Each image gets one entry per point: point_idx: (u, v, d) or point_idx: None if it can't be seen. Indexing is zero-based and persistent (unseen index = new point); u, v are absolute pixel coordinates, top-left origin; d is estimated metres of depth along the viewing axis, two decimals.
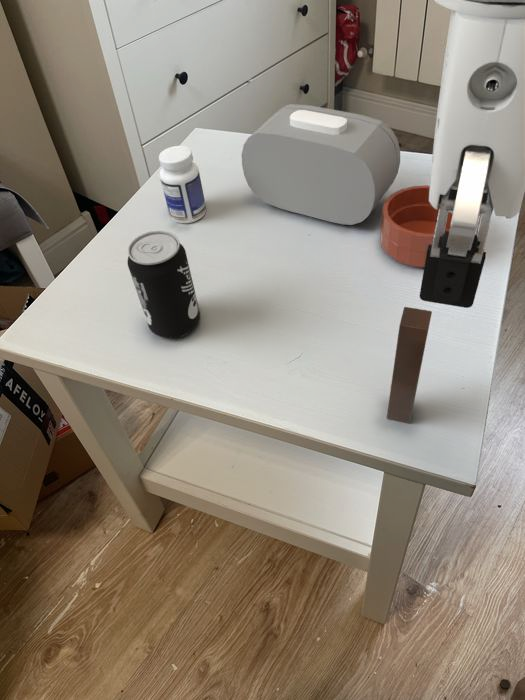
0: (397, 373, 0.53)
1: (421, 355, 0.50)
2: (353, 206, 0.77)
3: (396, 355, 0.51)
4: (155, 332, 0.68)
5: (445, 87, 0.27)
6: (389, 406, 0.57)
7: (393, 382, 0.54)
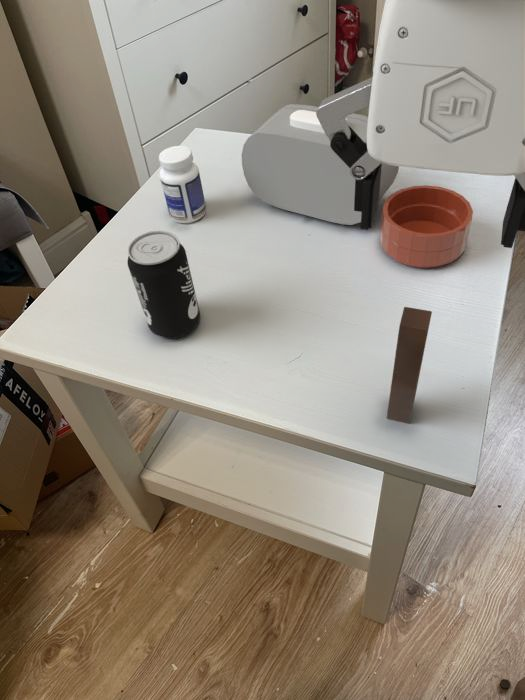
0: (397, 373, 0.53)
1: (421, 355, 0.50)
2: (353, 206, 0.77)
3: (396, 355, 0.51)
4: (155, 332, 0.68)
5: None
6: (389, 406, 0.57)
7: (393, 382, 0.54)
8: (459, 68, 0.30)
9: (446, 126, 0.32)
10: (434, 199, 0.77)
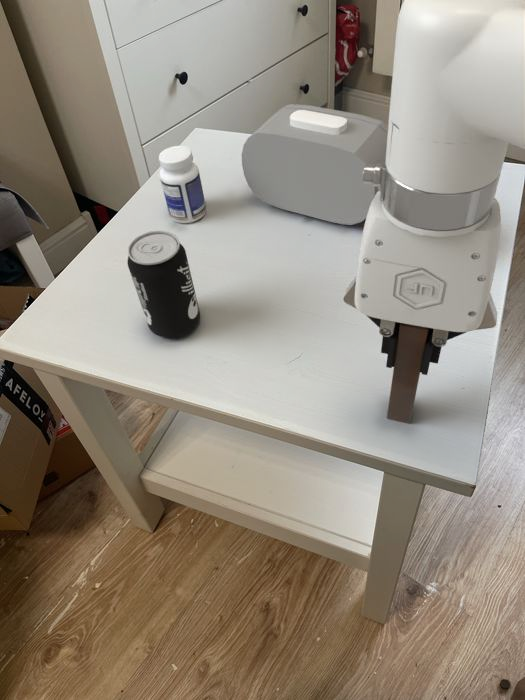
0: (397, 373, 0.53)
1: (421, 355, 0.50)
2: (353, 206, 0.77)
3: (396, 355, 0.51)
4: (155, 332, 0.68)
5: None
6: (389, 406, 0.57)
7: (393, 382, 0.54)
8: (420, 267, 0.41)
9: (412, 299, 0.44)
10: None
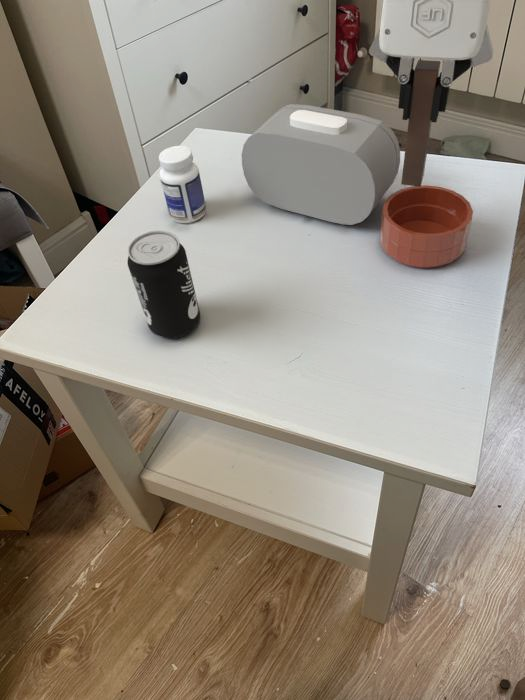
0: (411, 127, 0.65)
1: (431, 101, 0.62)
2: (353, 206, 0.77)
3: (411, 105, 0.63)
4: (155, 332, 0.68)
5: None
6: (404, 168, 0.69)
7: (408, 138, 0.66)
8: None
9: (426, 27, 0.55)
10: (434, 199, 0.77)
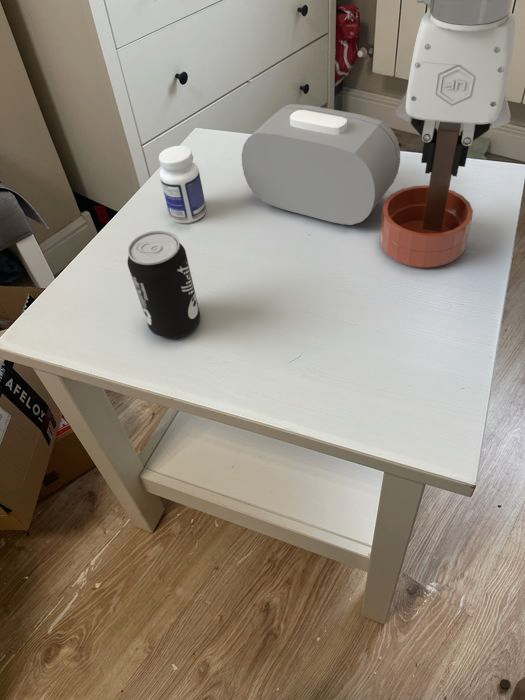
0: (433, 179, 0.70)
1: (453, 157, 0.67)
2: (353, 206, 0.77)
3: (433, 160, 0.68)
4: (155, 332, 0.68)
5: None
6: (425, 215, 0.74)
7: (429, 189, 0.71)
8: (456, 65, 0.58)
9: (450, 96, 0.60)
10: None
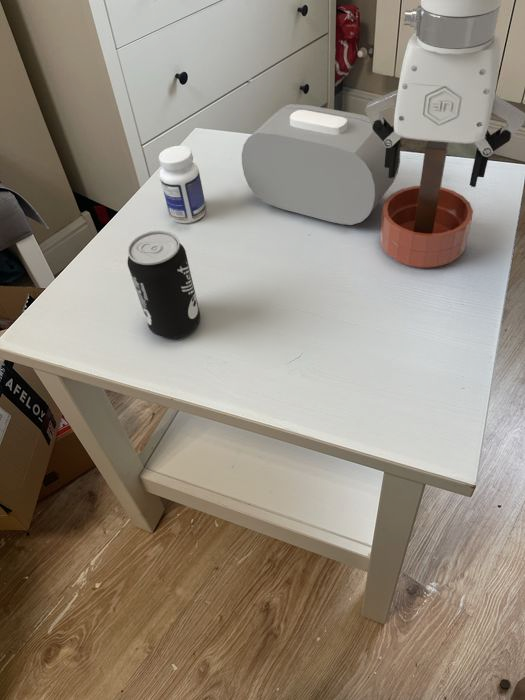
0: (421, 196, 0.70)
1: (440, 175, 0.68)
2: (353, 206, 0.77)
3: (421, 177, 0.69)
4: (155, 332, 0.68)
5: None
6: (414, 230, 0.74)
7: (418, 205, 0.72)
8: (443, 86, 0.59)
9: (437, 116, 0.61)
10: None
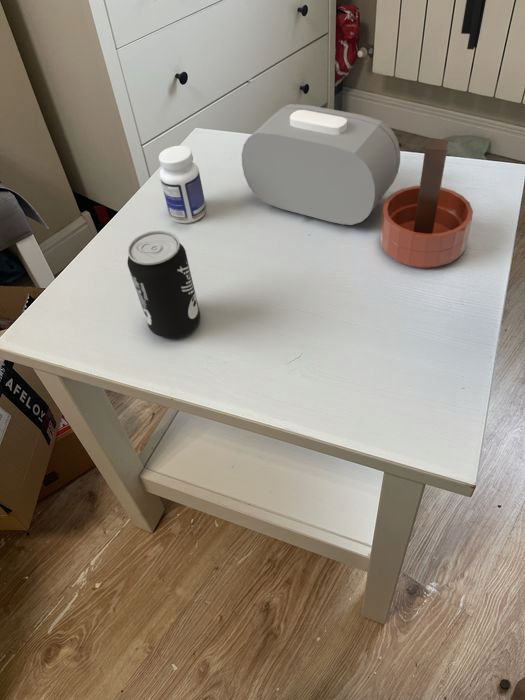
0: (421, 196, 0.70)
1: (440, 175, 0.68)
2: (353, 206, 0.77)
3: (421, 177, 0.69)
4: (155, 332, 0.68)
5: None
6: (414, 230, 0.74)
7: (418, 205, 0.72)
8: None
9: None
10: None
